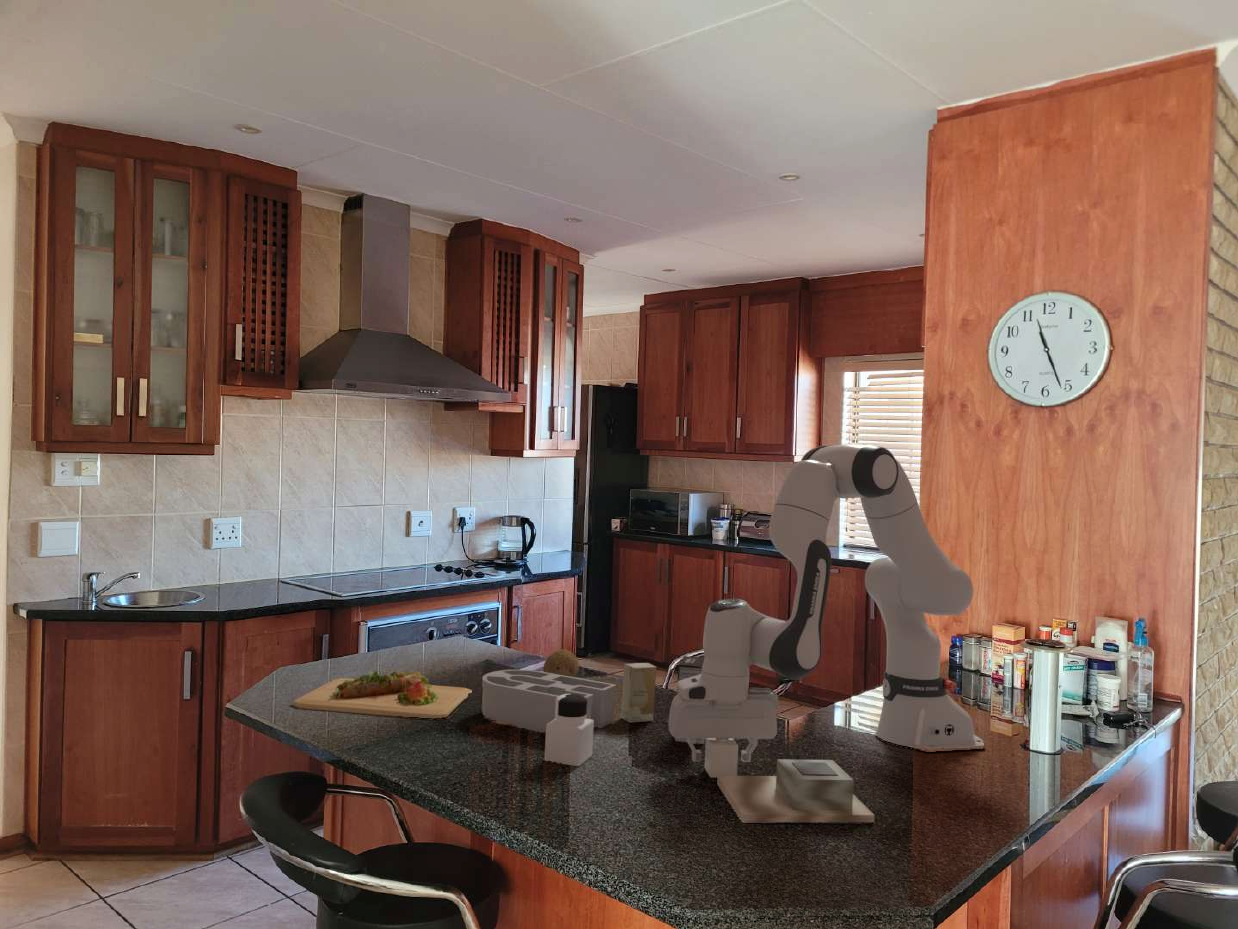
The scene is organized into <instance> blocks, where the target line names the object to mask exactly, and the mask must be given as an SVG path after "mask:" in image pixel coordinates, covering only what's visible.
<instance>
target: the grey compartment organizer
mask: <svg viewBox="0 0 1238 929" xmlns="http://www.w3.org/2000/svg"><path fill="white" fill-rule="evenodd" d="M481 681H482V684H481V687H482V698H481V699H482V700H481V701H482V702H481V712H482V716H483V715H484V716H485V717H486V718H490V719H492V720H496V721H500V722H504V723H507V724H513V725H516V726H519V727H521V728H526V729H529V730H536V731H541V732H545V733H546V725H547V723H549V722H551V721H552V720H554V719H555V703H556V698H557V697H558V696H560V695H563V694H578V695H581V696H583V697H585V698H586V699H587V715H586V719H592V720H594V726H595V727H598V728H597V729H600V728H601V729H603V728H605V727H607V726H609V725H610V724H612V723H613V721H614V718H615V715H614V714H615V695H616V693H617V684H614V683H608V682H603V681H597V680H592V679H586V678H579V677H576V678H575V677H570V676H564V675H558V674H552V673H547V672H544V671H540V670H532V669H502V670H495V671H491V672H488V673H486V674H484V675H483V676H482V680H481ZM608 724H609V725H608ZM606 725H607V726H606ZM604 726H605V727H604ZM595 727H594V728H595ZM602 727H603V728H602Z"/></svg>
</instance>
